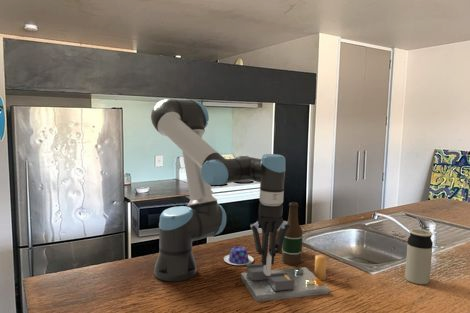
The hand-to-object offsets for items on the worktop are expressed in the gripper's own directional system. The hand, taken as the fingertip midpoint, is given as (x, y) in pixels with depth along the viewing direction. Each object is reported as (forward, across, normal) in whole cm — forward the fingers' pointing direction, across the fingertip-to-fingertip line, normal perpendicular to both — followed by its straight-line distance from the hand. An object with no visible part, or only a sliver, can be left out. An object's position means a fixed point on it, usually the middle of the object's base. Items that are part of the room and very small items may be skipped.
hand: (266, 273), depth 120 cm
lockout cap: (+6, +23, +6) cm, 25 cm away
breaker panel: (+6, +7, +3) cm, 10 cm away
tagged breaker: (+4, +5, -1) cm, 6 cm away
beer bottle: (+7, +19, +22) cm, 30 cm away
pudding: (+8, -1, +28) cm, 29 cm away
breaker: (+4, 0, +8) cm, 9 cm away
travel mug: (+6, +57, -3) cm, 57 cm away
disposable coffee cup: (+7, +20, +34) cm, 40 cm away
